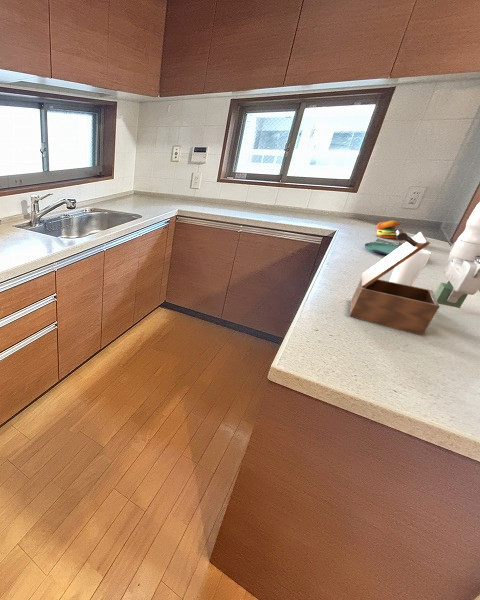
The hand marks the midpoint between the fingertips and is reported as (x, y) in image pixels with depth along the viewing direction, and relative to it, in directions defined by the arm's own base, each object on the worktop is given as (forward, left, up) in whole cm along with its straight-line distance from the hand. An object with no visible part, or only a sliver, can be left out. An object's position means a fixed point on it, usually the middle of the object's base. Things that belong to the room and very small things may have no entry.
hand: (448, 297), depth 95 cm
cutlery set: (+7, -73, -6) cm, 74 cm away
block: (0, 0, -2) cm, 2 cm away
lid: (+17, +14, +11) cm, 25 cm away
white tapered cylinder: (+9, -11, -6) cm, 16 cm away
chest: (+13, +14, -5) cm, 20 cm away
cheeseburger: (+8, -104, -6) cm, 105 cm away
